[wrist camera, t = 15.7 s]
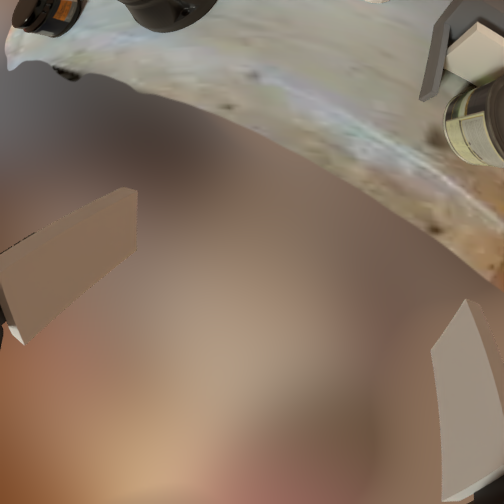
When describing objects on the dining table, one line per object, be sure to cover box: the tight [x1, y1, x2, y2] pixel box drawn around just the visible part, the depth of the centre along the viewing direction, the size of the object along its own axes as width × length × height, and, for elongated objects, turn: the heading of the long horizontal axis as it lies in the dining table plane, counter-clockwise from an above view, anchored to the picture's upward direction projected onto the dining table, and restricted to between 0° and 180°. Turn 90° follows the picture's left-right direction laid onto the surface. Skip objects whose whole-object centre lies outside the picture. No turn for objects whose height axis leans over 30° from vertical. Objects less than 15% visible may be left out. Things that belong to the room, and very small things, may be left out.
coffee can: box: [443, 75, 504, 168], centre depth 25 cm, size 10×10×14 cm
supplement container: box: [12, 0, 81, 38], centre depth 34 cm, size 10×10×12 cm
